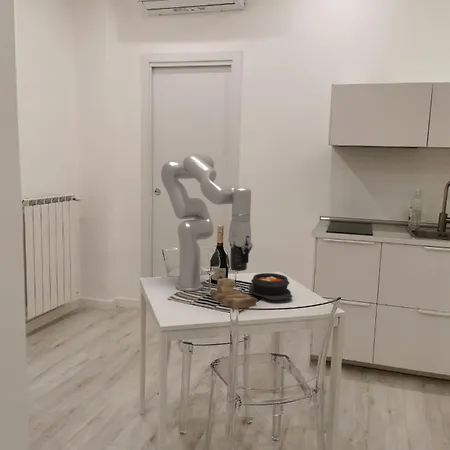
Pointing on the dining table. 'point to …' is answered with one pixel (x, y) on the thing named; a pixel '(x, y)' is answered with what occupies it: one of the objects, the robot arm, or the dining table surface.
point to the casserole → (270, 286)
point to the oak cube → (225, 285)
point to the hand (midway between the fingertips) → (239, 260)
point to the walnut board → (234, 299)
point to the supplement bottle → (236, 259)
